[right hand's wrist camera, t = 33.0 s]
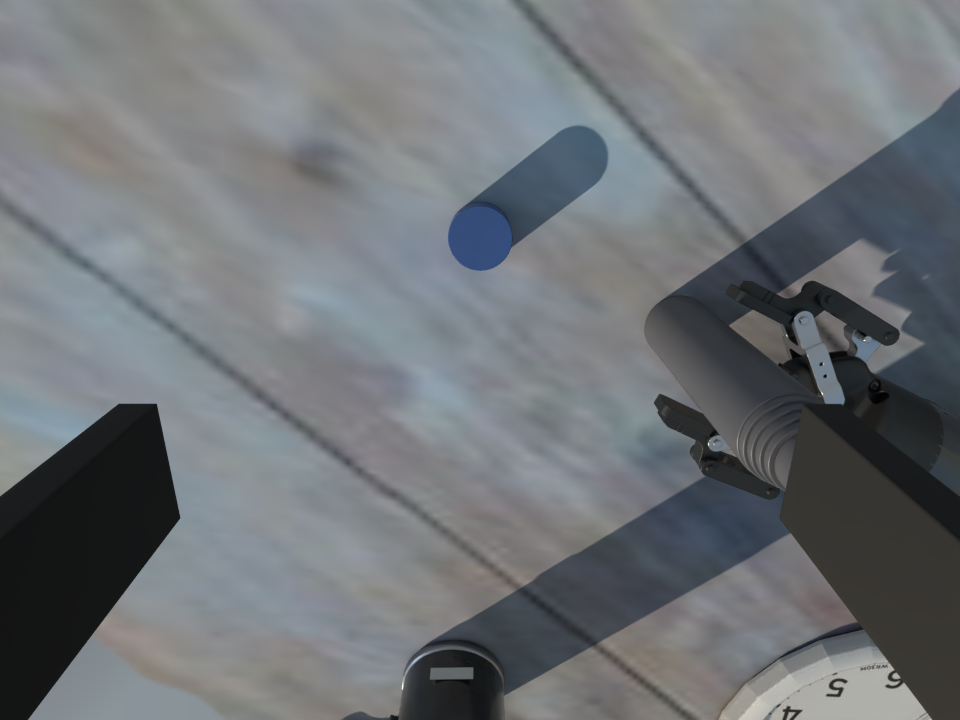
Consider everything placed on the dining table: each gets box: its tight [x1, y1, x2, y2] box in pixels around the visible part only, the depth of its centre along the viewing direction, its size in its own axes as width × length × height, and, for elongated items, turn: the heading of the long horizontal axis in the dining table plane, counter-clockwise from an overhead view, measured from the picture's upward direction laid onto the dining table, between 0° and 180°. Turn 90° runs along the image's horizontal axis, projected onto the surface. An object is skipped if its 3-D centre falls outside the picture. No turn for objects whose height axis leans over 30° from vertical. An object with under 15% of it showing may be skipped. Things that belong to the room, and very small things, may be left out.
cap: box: [448, 202, 512, 271], centre depth 42 cm, size 4×4×2 cm
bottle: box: [645, 296, 826, 491], centre depth 35 cm, size 5×5×23 cm
